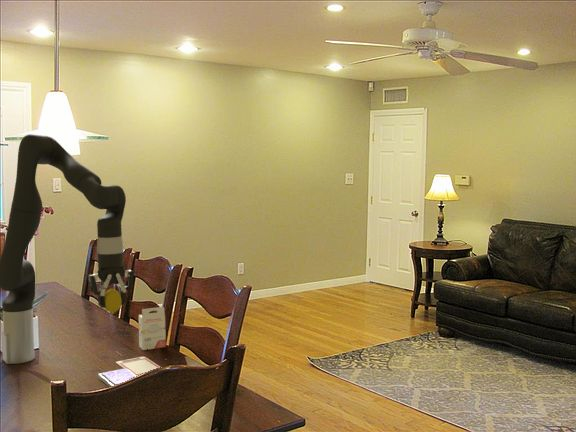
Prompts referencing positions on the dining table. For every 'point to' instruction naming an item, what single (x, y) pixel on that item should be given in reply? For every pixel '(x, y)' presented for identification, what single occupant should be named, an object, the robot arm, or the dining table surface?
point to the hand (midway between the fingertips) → (112, 305)
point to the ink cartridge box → (152, 329)
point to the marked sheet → (138, 365)
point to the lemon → (112, 300)
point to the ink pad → (116, 376)
